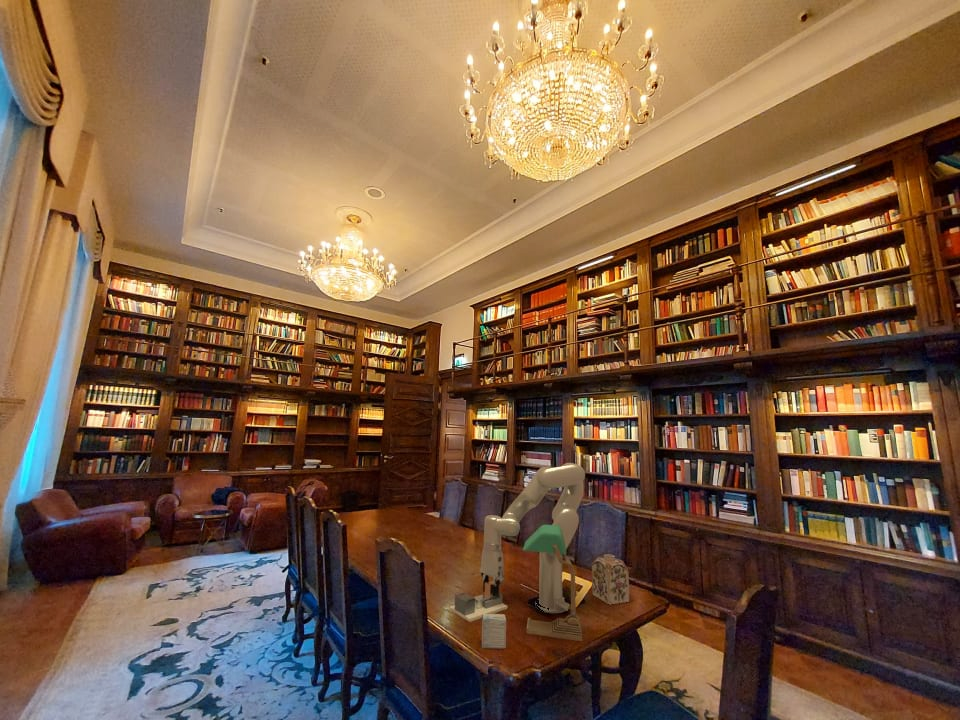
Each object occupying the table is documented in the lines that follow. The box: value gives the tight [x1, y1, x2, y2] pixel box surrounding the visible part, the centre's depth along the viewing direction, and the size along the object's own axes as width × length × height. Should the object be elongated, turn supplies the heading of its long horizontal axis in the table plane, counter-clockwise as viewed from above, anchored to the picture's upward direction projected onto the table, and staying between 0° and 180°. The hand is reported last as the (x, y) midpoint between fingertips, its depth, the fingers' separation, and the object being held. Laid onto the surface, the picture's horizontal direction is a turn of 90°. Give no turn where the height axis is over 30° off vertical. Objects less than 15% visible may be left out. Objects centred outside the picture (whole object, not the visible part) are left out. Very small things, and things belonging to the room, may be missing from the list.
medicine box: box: [481, 613, 507, 649], centre depth 126 cm, size 8×4×9 cm, turn 92°
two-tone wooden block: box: [473, 580, 498, 609], centre depth 155 cm, size 3×11×7 cm, turn 131°
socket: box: [454, 592, 475, 616], centre depth 148 cm, size 7×5×5 cm
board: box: [449, 593, 508, 623], centre depth 153 cm, size 13×20×4 cm, turn 131°
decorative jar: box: [591, 553, 630, 606], centre depth 170 cm, size 12×12×18 cm
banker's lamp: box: [522, 524, 583, 642], centre depth 140 cm, size 16×21×35 cm
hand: (490, 592), depth 157 cm, fingers open, 5 cm apart
